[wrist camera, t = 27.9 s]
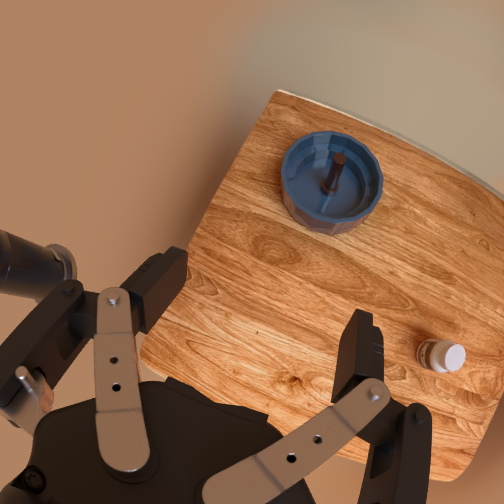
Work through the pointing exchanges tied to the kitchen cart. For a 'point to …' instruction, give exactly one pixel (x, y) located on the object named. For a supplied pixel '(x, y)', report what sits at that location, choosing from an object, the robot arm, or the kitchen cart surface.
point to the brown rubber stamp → (333, 175)
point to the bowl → (316, 170)
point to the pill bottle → (440, 355)
